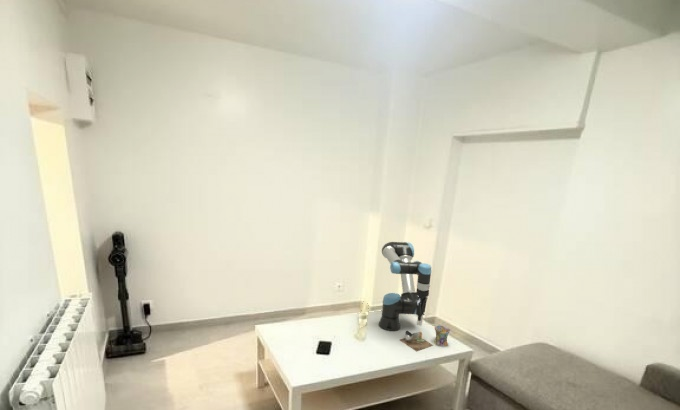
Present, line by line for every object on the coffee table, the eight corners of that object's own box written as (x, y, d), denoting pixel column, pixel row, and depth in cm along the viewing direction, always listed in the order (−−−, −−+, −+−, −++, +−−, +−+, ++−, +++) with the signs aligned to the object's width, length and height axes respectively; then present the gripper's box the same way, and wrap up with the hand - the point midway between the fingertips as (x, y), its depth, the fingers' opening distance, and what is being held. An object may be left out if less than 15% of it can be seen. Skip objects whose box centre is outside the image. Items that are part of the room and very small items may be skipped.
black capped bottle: (407, 343, 199) (408, 334, 198) (403, 339, 202) (404, 331, 202) (422, 339, 204) (423, 331, 204) (418, 336, 208) (419, 328, 207)
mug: (451, 348, 198) (452, 332, 197) (437, 349, 196) (439, 332, 195) (441, 338, 210) (443, 323, 209) (428, 339, 208) (429, 323, 207)
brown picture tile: (399, 341, 203) (399, 339, 203) (415, 336, 211) (415, 334, 211) (416, 353, 190) (416, 351, 190) (433, 347, 198) (433, 345, 198)
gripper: (424, 293, 190) (420, 330, 193) (432, 287, 200) (429, 323, 203) (412, 290, 194) (409, 326, 197) (421, 284, 205) (418, 319, 207)
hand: (419, 324), depth 200 cm, fingers closed
